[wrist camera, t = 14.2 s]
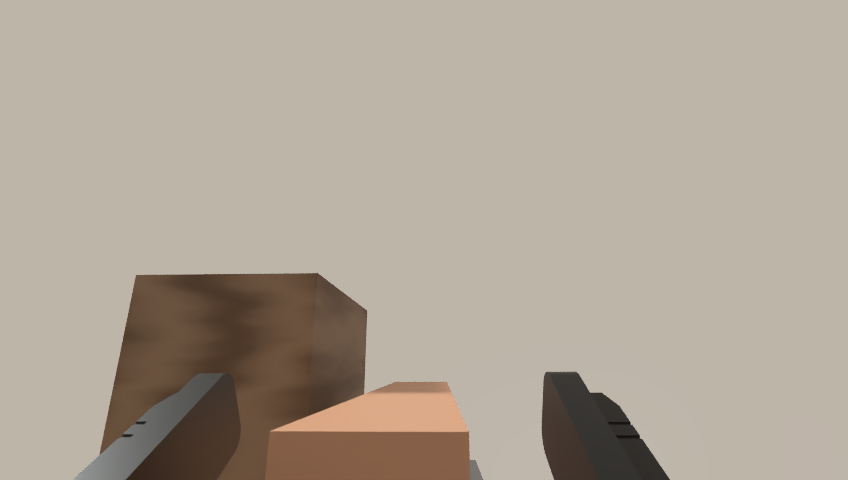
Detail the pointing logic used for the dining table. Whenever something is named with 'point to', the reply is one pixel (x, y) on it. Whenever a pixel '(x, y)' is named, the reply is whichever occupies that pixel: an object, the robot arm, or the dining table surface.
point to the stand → (240, 351)
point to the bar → (376, 438)
